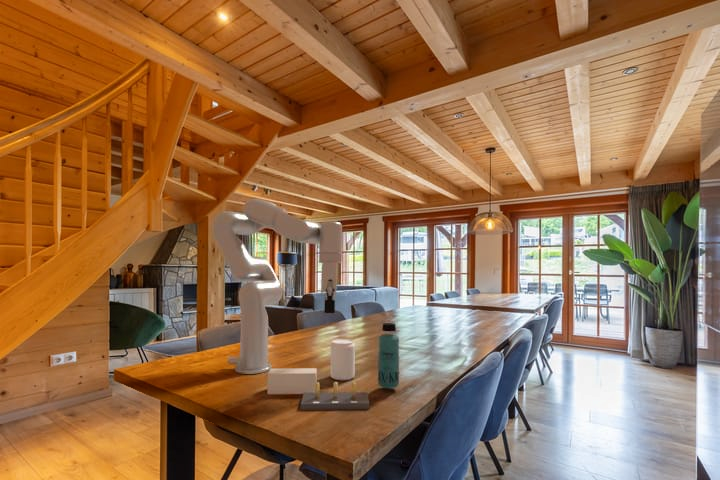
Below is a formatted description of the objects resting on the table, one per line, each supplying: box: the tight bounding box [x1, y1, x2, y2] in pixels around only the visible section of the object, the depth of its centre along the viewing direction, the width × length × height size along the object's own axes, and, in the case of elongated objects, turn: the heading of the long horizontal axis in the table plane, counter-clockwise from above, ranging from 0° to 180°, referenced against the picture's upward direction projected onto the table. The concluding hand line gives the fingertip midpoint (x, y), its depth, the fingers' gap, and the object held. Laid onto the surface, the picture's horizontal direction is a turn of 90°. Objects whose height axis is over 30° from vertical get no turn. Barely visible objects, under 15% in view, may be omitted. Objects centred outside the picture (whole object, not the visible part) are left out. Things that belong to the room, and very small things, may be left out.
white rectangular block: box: [266, 367, 318, 395], centre depth 106 cm, size 14×5×6 cm, turn 93°
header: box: [300, 381, 370, 411], centre depth 97 cm, size 18×8×6 cm, turn 93°
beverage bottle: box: [377, 322, 400, 389], centre depth 108 cm, size 6×7×20 cm
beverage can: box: [330, 338, 356, 382], centre depth 119 cm, size 8×8×12 cm
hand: (329, 310), depth 116 cm, fingers open, 9 cm apart
